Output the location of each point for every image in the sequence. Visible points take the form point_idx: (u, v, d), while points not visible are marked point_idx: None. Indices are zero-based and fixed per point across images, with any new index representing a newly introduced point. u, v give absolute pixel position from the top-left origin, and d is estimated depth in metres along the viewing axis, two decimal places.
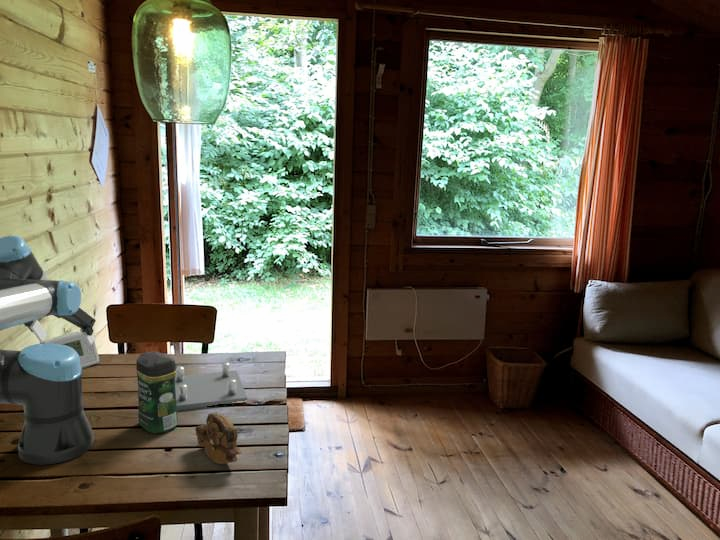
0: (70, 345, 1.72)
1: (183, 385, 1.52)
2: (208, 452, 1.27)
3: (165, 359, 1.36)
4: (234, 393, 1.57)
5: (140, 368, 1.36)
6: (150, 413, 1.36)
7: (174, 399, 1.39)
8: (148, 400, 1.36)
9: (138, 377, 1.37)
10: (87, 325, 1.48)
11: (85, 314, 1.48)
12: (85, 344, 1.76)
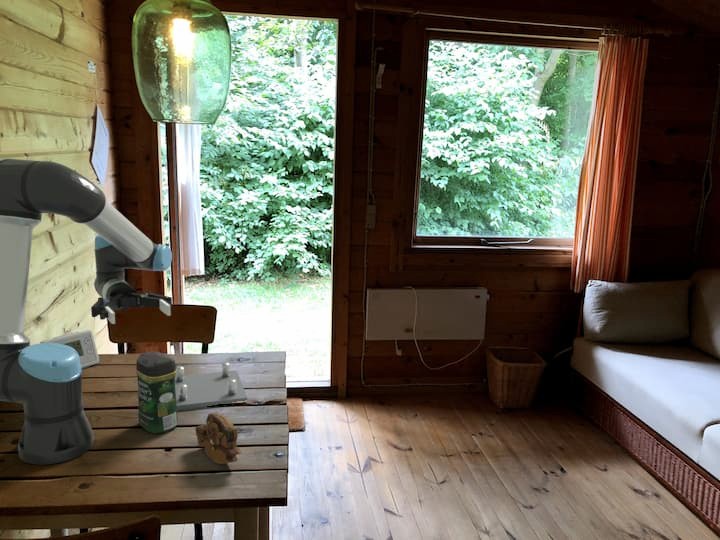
0: (70, 345, 1.72)
1: (183, 385, 1.52)
2: (208, 452, 1.27)
3: (165, 359, 1.36)
4: (234, 393, 1.57)
5: (140, 368, 1.36)
6: (150, 413, 1.36)
7: (174, 399, 1.39)
8: (148, 400, 1.36)
9: (138, 377, 1.37)
10: (167, 297, 1.56)
11: None
12: (85, 344, 1.76)
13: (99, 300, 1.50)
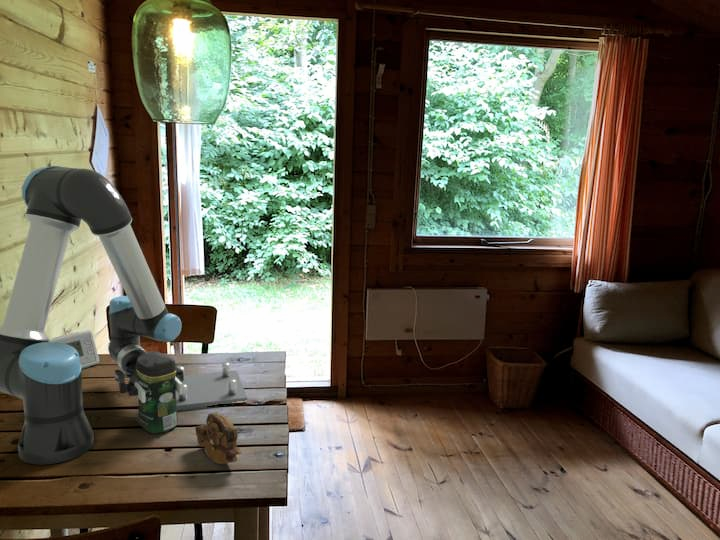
0: (70, 345, 1.72)
1: (183, 385, 1.52)
2: (208, 452, 1.27)
3: (165, 359, 1.36)
4: (234, 393, 1.57)
5: (140, 368, 1.36)
6: (150, 412, 1.36)
7: (174, 399, 1.39)
8: (148, 400, 1.36)
9: (138, 377, 1.37)
10: (179, 370, 1.46)
11: None
12: (85, 345, 1.75)
13: (119, 373, 1.43)
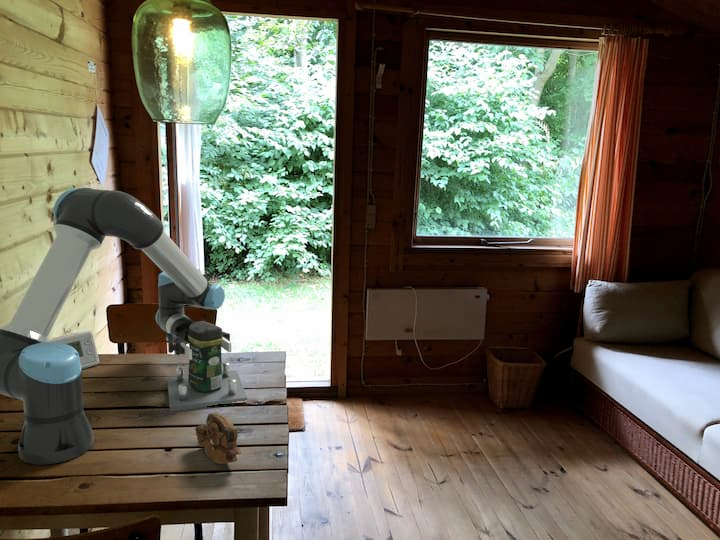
0: None
1: (183, 385, 1.52)
2: (208, 452, 1.27)
3: (214, 327, 1.56)
4: (234, 393, 1.57)
5: (192, 334, 1.56)
6: (200, 373, 1.56)
7: (220, 363, 1.59)
8: (199, 362, 1.56)
9: (190, 342, 1.57)
10: (225, 333, 1.67)
11: None
12: (85, 345, 1.75)
13: (169, 336, 1.62)
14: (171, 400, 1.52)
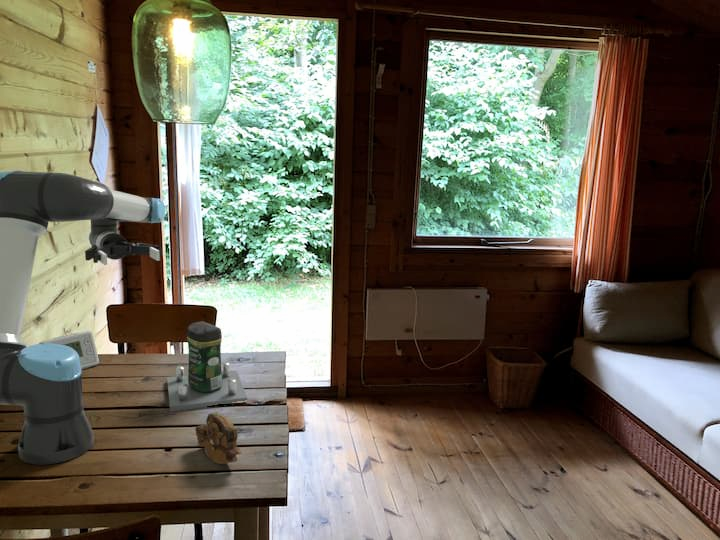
0: (69, 346, 1.71)
1: (183, 385, 1.52)
2: (208, 452, 1.27)
3: (213, 327, 1.56)
4: (234, 393, 1.57)
5: (191, 335, 1.55)
6: (200, 374, 1.56)
7: (220, 363, 1.59)
8: (198, 363, 1.56)
9: (189, 343, 1.57)
10: (157, 246, 1.65)
11: None
12: (85, 345, 1.75)
13: (93, 247, 1.60)
14: (171, 400, 1.52)
